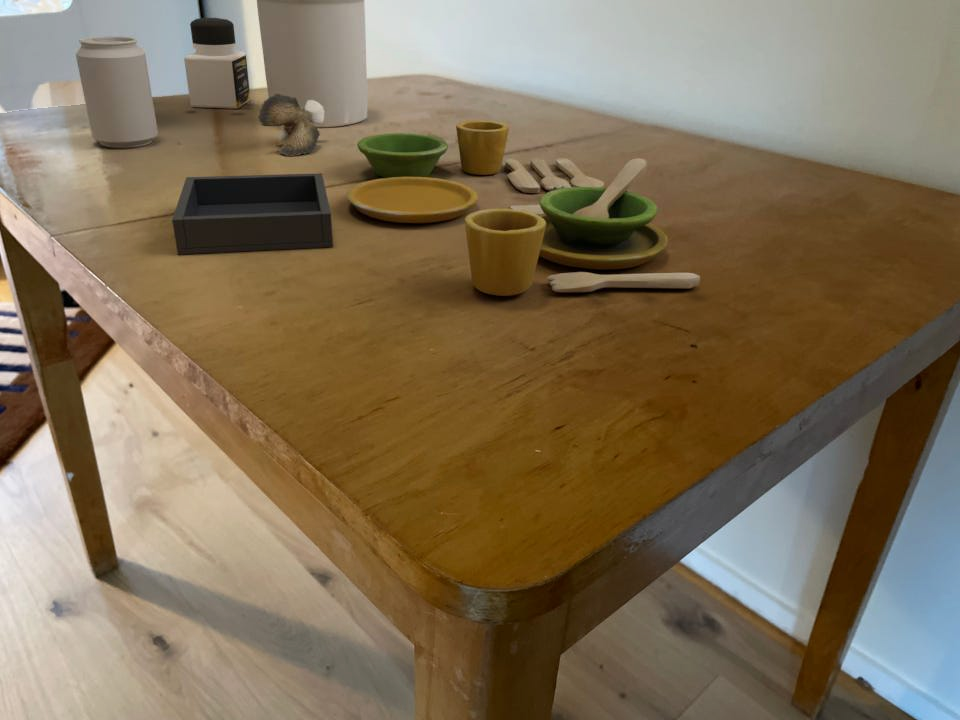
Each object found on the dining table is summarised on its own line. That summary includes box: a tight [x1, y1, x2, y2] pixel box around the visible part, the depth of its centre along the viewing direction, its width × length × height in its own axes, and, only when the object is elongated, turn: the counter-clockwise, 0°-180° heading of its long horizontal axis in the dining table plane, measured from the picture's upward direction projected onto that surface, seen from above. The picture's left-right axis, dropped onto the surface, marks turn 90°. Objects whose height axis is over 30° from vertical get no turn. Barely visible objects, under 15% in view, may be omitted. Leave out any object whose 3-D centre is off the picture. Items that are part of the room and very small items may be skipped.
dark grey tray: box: [171, 172, 334, 256], centre depth 70 cm, size 13×13×3 cm
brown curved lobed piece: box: [257, 94, 325, 157], centre depth 96 cm, size 8×7×9 cm
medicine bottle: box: [183, 17, 251, 110], centre depth 116 cm, size 7×7×12 cm
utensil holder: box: [256, 0, 368, 128], centre depth 108 cm, size 15×15×18 cm
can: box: [75, 35, 159, 149], centre depth 93 cm, size 8×8×12 cm
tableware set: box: [345, 120, 701, 297], centre depth 74 cm, size 41×28×6 cm
